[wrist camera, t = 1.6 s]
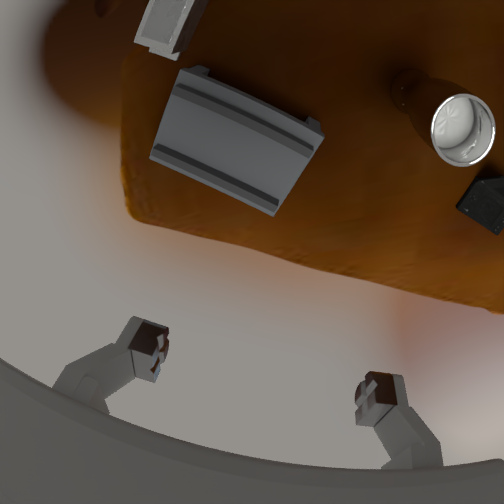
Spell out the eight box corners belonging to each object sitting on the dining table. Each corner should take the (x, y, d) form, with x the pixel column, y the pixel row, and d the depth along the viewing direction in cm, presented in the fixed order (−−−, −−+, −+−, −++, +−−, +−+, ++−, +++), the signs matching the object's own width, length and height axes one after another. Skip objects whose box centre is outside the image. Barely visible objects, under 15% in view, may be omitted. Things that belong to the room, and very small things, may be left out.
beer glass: (426, 58, 28) (487, 82, 17) (445, 108, 31) (503, 156, 20) (377, 75, 31) (417, 105, 20) (399, 125, 34) (440, 179, 23)
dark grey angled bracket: (453, 223, 40) (499, 224, 30) (456, 177, 40) (501, 168, 30) (497, 236, 41) (540, 238, 31) (499, 194, 41) (542, 191, 31)
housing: (187, -40, 24) (171, -47, 20) (224, -30, 25) (212, -37, 21) (148, 49, 33) (128, 54, 29) (181, 61, 34) (165, 67, 30)
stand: (197, 62, 33) (175, 71, 28) (322, 121, 36) (325, 142, 31) (167, 141, 41) (143, 163, 35) (277, 192, 44) (271, 223, 38)
